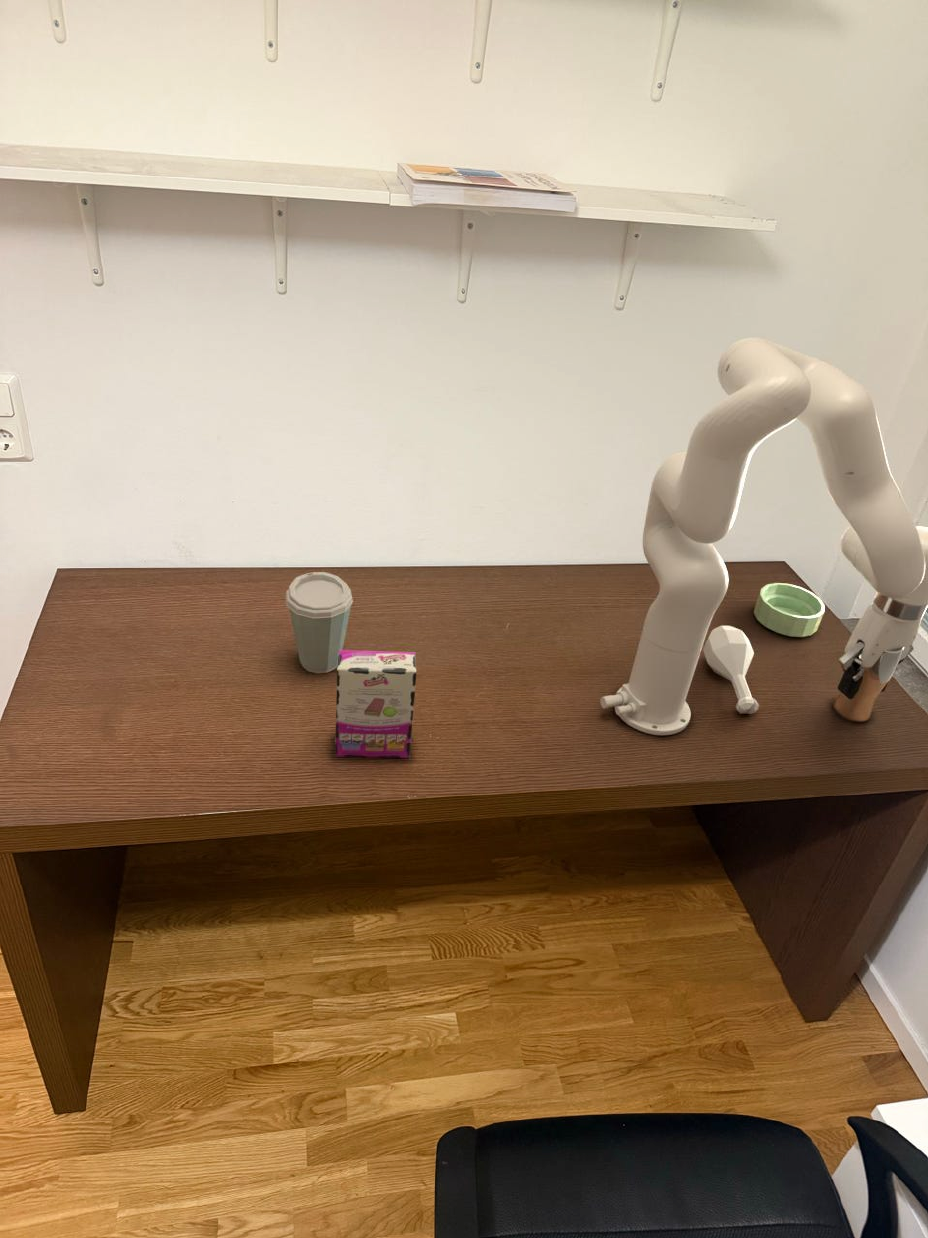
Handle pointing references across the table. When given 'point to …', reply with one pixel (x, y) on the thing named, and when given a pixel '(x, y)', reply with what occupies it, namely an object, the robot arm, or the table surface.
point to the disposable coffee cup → (319, 618)
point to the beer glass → (868, 687)
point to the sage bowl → (789, 609)
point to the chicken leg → (732, 662)
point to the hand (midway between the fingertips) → (860, 689)
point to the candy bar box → (374, 703)
